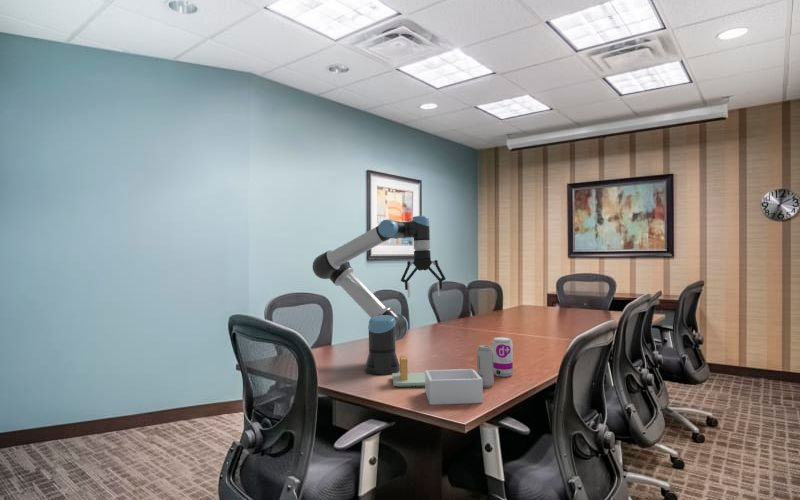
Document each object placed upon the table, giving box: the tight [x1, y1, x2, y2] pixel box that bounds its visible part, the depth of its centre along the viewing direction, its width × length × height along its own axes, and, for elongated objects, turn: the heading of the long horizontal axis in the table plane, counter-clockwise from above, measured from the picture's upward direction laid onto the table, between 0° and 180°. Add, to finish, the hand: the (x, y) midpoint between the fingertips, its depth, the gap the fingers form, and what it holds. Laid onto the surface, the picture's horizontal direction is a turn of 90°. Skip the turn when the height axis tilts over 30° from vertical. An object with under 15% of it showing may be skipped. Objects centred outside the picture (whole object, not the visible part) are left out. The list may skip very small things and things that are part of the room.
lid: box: [391, 354, 425, 388], centre depth 179 cm, size 19×15×10 cm
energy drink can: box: [476, 344, 495, 388], centre depth 174 cm, size 6×6×15 cm
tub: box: [424, 368, 484, 405], centre depth 160 cm, size 18×14×8 cm
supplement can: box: [491, 336, 514, 378], centre depth 189 cm, size 8×8×15 cm
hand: (423, 296), depth 206 cm, fingers open, 13 cm apart
